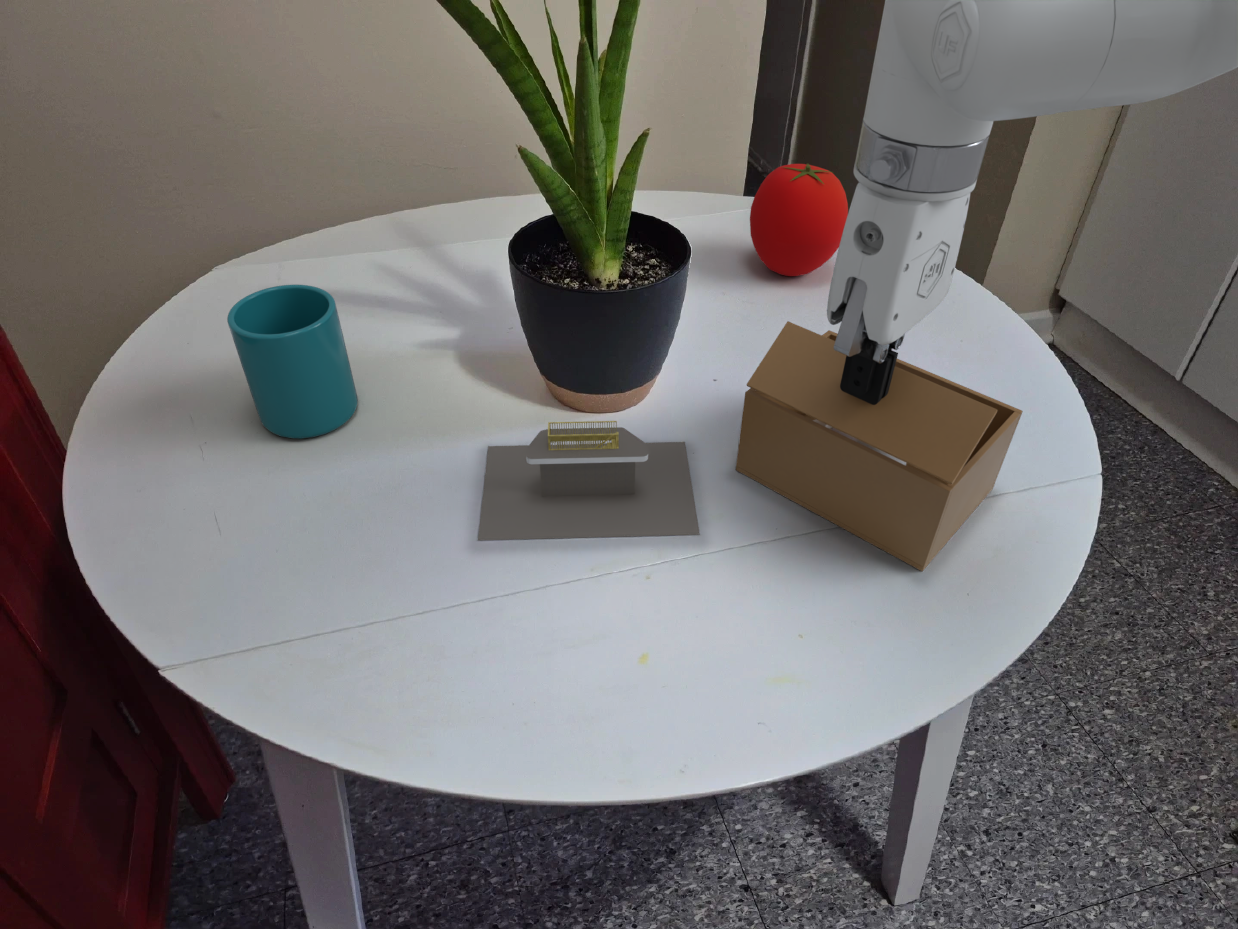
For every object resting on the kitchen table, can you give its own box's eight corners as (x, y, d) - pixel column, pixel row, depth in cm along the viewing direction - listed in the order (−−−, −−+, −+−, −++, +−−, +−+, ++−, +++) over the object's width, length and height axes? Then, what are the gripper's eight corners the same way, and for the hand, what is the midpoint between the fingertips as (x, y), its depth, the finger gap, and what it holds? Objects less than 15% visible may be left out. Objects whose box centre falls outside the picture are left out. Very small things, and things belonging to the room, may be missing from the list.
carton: (992, 489, 75) (1023, 410, 70) (922, 571, 68) (950, 491, 62) (814, 405, 84) (828, 329, 79) (735, 470, 77) (745, 391, 71)
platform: (488, 446, 79) (481, 387, 75) (685, 441, 80) (689, 383, 75) (477, 540, 70) (469, 479, 66) (699, 534, 71) (705, 474, 66)
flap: (997, 411, 63) (997, 409, 62) (952, 485, 62) (951, 483, 62) (788, 323, 72) (787, 320, 71) (747, 386, 71) (746, 384, 71)
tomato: (731, 252, 108) (742, 150, 100) (812, 243, 110) (829, 142, 102) (765, 297, 100) (779, 190, 91) (851, 286, 102) (873, 180, 93)
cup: (371, 366, 89) (349, 267, 81) (350, 440, 80) (323, 335, 72) (281, 369, 88) (251, 269, 81) (249, 443, 79) (213, 338, 72)
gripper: (917, 210, 48) (856, 462, 60) (1025, 137, 56) (952, 371, 68) (802, 173, 52) (766, 417, 64) (919, 110, 60) (868, 336, 72)
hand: (862, 393), depth 66 cm, fingers closed
